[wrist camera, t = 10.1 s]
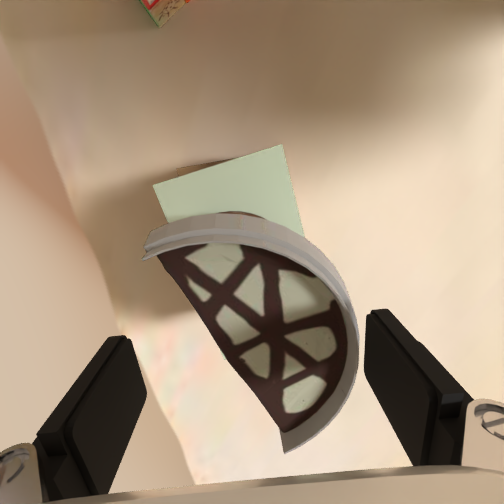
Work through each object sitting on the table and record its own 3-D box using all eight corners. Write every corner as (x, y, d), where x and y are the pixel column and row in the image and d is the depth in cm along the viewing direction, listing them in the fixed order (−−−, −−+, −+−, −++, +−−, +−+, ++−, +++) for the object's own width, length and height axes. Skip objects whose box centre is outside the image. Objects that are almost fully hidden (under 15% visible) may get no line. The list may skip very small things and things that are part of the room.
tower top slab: (272, 147, 23) (282, 143, 18) (312, 300, 27) (327, 330, 23) (169, 179, 23) (152, 185, 18) (226, 325, 28) (224, 359, 23)
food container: (337, 300, 22) (411, 410, 12) (268, 333, 23) (289, 461, 13) (265, 156, 18) (294, 155, 9) (186, 201, 19) (132, 247, 9)
